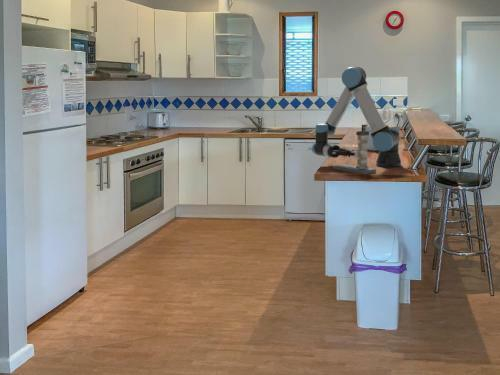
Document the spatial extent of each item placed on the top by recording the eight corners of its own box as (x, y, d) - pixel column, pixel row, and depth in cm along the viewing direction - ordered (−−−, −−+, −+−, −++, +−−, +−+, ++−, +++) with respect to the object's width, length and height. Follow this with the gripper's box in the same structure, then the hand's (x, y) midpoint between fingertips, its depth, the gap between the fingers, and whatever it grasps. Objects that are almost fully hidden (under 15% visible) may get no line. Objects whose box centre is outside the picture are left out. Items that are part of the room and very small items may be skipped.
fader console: (333, 169, 427) (333, 165, 427) (344, 167, 433) (344, 164, 432) (364, 174, 407) (364, 170, 406) (375, 172, 412) (376, 168, 411)
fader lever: (355, 168, 415) (356, 131, 411) (362, 167, 418) (362, 131, 414) (362, 169, 411) (362, 132, 407) (368, 168, 414) (368, 131, 410)
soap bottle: (370, 148, 526) (371, 114, 522) (381, 149, 521) (382, 115, 517) (364, 150, 520) (365, 115, 515) (375, 151, 514) (376, 115, 510)
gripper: (340, 156, 438) (367, 160, 419) (323, 157, 430) (351, 162, 411) (340, 143, 437) (367, 147, 418) (324, 145, 429) (351, 149, 410)
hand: (359, 154), depth 415 cm, fingers closed
